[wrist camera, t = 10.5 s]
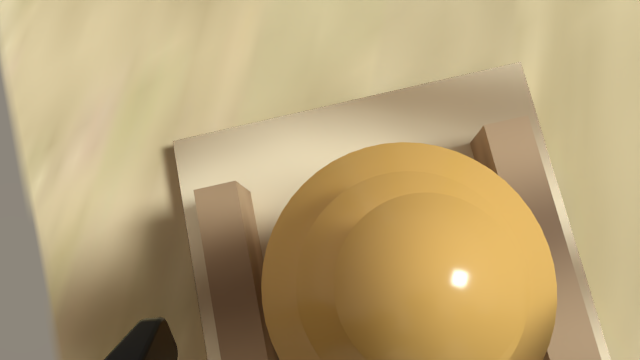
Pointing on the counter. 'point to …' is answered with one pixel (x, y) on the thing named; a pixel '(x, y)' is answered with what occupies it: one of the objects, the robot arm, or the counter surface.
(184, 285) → the counter surface
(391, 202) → the amber bottle
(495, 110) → the u rest
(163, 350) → the robot arm
